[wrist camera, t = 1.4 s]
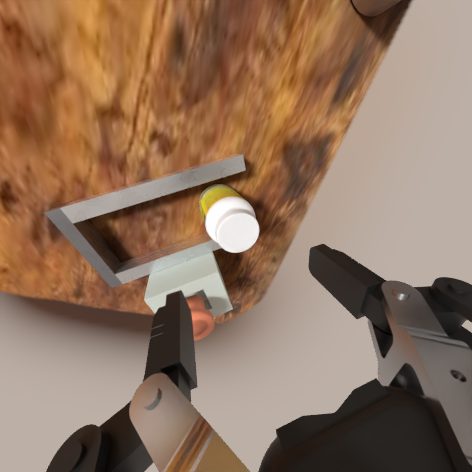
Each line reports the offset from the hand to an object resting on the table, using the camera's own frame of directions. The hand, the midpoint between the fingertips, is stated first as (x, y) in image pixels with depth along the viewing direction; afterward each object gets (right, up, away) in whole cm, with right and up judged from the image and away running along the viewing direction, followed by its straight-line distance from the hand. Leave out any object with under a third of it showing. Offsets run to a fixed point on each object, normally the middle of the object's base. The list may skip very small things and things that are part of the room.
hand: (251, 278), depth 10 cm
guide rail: (-10, +6, +16) cm, 20 cm away
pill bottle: (-4, +8, +17) cm, 19 cm away
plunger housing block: (-9, -4, +21) cm, 23 cm away
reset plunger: (-7, -7, +14) cm, 18 cm away
